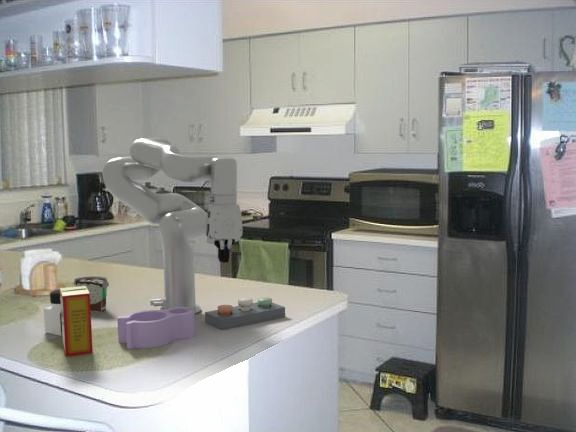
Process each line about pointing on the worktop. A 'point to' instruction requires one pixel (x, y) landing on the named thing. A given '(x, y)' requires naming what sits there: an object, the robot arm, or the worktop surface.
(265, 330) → the worktop surface
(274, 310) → the button panel
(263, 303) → the sage button
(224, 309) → the terracotta button
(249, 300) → the ivory button
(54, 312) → the medicine bottle
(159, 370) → the worktop surface
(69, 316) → the baking soda box
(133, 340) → the clip
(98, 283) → the food container
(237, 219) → the robot arm
